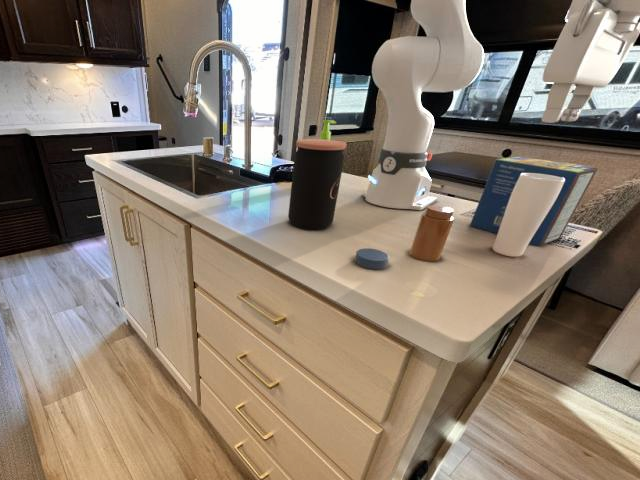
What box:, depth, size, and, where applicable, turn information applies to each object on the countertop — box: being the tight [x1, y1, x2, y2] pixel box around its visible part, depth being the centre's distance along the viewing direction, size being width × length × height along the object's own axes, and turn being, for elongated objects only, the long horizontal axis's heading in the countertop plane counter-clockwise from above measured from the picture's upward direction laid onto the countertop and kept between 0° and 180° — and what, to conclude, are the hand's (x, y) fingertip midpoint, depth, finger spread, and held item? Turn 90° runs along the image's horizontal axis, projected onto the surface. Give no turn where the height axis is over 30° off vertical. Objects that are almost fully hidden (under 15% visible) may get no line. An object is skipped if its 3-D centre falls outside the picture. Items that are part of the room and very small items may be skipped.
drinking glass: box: [491, 173, 565, 258], centre depth 65 cm, size 7×7×15 cm
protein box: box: [469, 156, 599, 247], centre depth 76 cm, size 10×15×16 cm
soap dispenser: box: [318, 119, 337, 140], centre depth 113 cm, size 6×7×20 cm
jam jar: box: [409, 204, 455, 262], centre depth 64 cm, size 5×5×9 cm
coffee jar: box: [287, 138, 348, 231], centre depth 77 cm, size 11×11×18 cm
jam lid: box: [354, 247, 390, 270], centre depth 63 cm, size 6×6×2 cm
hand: (558, 121), depth 51 cm, fingers open, 8 cm apart
